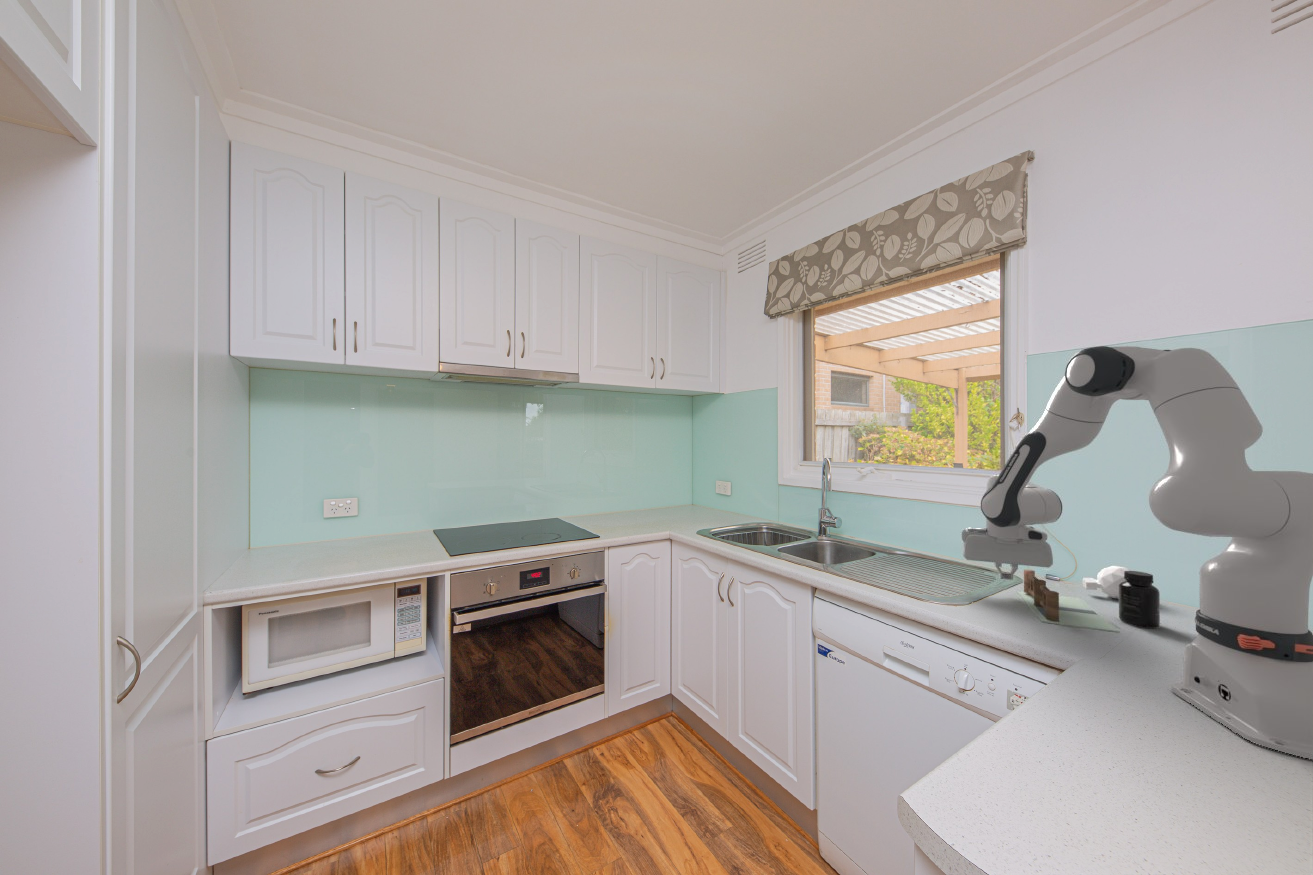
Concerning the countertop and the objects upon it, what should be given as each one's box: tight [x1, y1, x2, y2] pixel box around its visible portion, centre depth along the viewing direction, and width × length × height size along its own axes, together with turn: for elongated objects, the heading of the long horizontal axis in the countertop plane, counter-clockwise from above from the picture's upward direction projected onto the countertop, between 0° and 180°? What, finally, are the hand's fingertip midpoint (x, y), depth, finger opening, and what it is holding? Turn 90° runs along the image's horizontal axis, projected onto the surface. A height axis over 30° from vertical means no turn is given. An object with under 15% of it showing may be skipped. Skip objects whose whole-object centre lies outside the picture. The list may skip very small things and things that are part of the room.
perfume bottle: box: [1082, 565, 1132, 600], centre depth 128 cm, size 9×9×12 cm
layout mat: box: [1016, 590, 1121, 633], centre depth 119 cm, size 24×14×1 cm, turn 154°
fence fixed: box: [1034, 578, 1060, 622], centre depth 117 cm, size 12×2×7 cm, turn 154°
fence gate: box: [1023, 569, 1038, 598], centre depth 127 cm, size 9×2×6 cm, turn 154°
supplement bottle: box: [1118, 570, 1161, 629], centre depth 111 cm, size 7×7×12 cm
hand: (1005, 578), depth 130 cm, fingers closed
